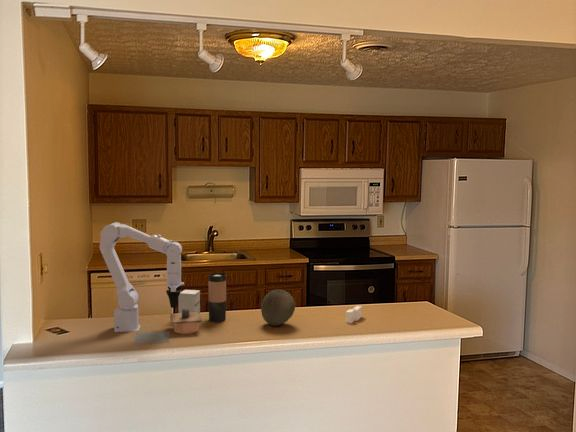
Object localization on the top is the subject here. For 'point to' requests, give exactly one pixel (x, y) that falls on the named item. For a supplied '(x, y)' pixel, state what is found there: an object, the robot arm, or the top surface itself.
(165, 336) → the slate mat
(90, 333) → the top surface
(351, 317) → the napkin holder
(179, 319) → the walnut cover
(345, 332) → the top surface
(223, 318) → the travel mug
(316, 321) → the top surface
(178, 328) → the terracotta bowl
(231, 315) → the top surface
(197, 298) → the supplement box
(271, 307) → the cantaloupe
